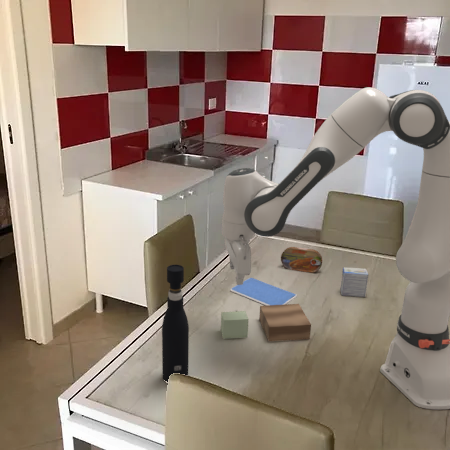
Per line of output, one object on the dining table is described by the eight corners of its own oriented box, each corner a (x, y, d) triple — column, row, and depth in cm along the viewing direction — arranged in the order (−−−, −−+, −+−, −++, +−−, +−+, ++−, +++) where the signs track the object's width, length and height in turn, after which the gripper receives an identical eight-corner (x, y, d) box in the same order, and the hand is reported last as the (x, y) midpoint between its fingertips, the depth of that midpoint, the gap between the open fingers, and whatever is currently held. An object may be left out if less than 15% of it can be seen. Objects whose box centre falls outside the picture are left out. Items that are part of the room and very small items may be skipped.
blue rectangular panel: (298, 297, 171) (298, 294, 171) (277, 312, 162) (277, 308, 161) (250, 279, 182) (250, 276, 182) (228, 292, 173) (228, 289, 172)
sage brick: (247, 337, 147) (248, 319, 145) (223, 339, 146) (223, 320, 144) (244, 329, 151) (245, 310, 149) (220, 330, 150) (221, 312, 148)
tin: (279, 268, 191) (281, 247, 188) (281, 264, 194) (283, 244, 191) (320, 274, 187) (323, 253, 184) (321, 271, 190) (324, 250, 187)
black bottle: (175, 366, 133) (175, 259, 123) (193, 376, 129) (195, 267, 119) (157, 377, 128) (155, 268, 118) (175, 388, 125) (175, 276, 114)
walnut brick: (309, 339, 147) (311, 324, 145) (268, 342, 145) (269, 327, 144) (297, 318, 158) (298, 303, 156) (259, 320, 156) (260, 305, 155)
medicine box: (363, 291, 176) (366, 268, 172) (365, 297, 171) (368, 274, 168) (339, 289, 176) (342, 266, 173) (341, 296, 172) (344, 272, 169)
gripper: (258, 243, 128) (255, 293, 133) (243, 215, 147) (240, 260, 152) (233, 244, 127) (231, 294, 132) (221, 216, 146) (219, 260, 151)
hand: (236, 275), depth 142 cm, fingers open, 8 cm apart
